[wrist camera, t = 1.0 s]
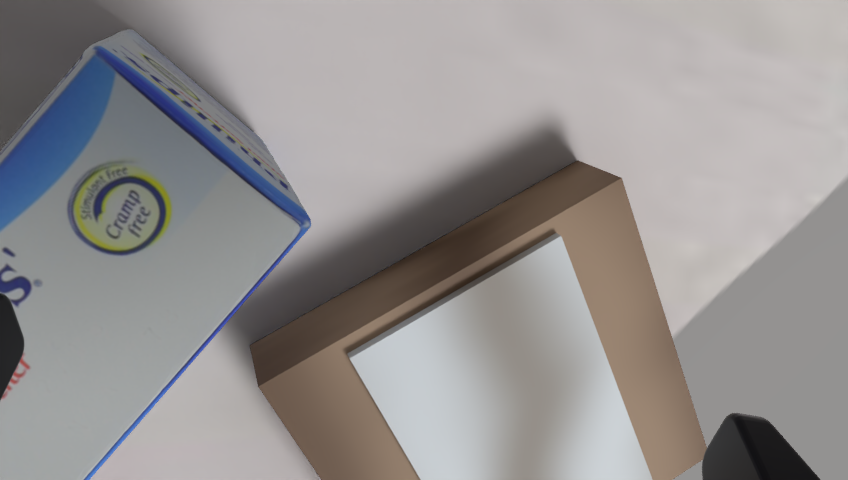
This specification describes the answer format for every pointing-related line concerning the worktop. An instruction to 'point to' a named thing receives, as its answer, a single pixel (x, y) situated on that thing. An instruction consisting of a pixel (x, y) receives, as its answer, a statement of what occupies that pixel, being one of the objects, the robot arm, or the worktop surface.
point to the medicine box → (125, 249)
